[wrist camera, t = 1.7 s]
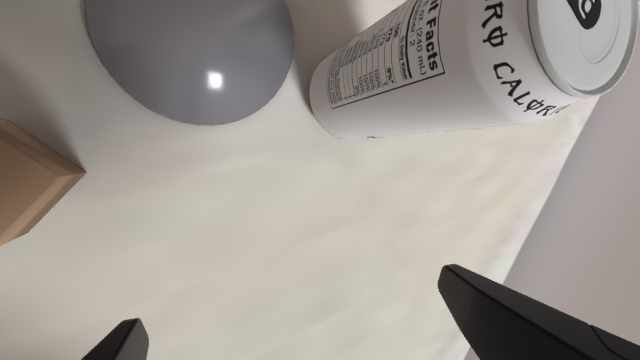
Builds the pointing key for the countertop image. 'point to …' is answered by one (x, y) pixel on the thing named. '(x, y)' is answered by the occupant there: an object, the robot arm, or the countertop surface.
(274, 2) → the coaster
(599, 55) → the energy drink can
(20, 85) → the countertop surface
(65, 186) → the walnut block
